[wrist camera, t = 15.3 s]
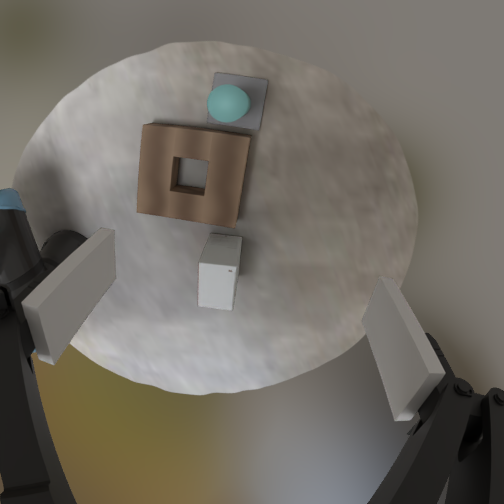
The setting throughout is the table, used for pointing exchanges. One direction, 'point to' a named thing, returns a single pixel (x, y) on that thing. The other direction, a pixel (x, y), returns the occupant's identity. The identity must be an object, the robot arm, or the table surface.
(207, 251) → the small box
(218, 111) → the plug
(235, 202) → the wooden block with hole
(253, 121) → the mat
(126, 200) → the table surface
